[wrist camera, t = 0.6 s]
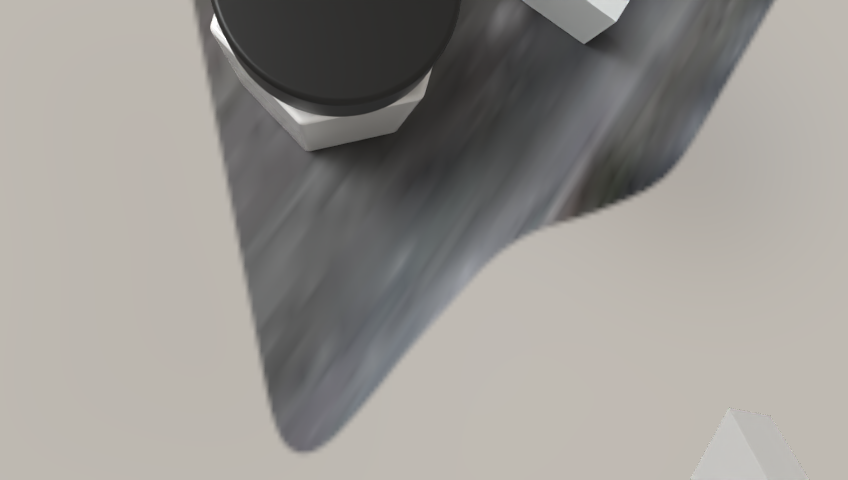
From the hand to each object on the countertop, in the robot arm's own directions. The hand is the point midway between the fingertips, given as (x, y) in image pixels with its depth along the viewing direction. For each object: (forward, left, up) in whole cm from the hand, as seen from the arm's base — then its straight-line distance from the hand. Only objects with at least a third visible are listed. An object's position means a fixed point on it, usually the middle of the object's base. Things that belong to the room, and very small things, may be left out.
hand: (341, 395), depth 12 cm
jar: (-10, +4, -23) cm, 25 cm away
